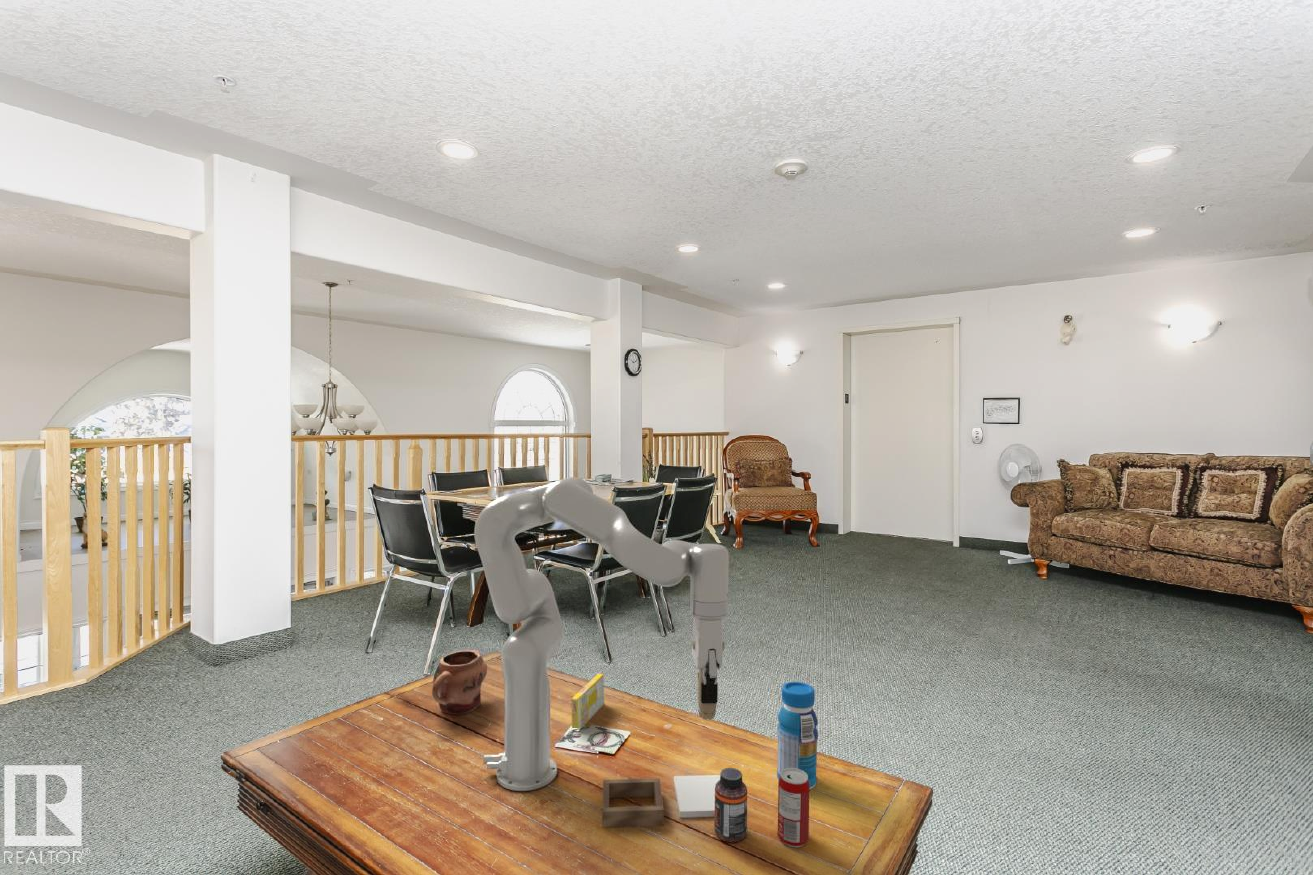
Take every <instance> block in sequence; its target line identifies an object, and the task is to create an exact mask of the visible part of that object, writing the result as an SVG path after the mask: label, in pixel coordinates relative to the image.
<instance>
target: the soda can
mask: <svg viewBox="0 0 1313 875" xmlns="http://www.w3.org/2000/svg"><path fill="white" fill-rule="evenodd" d="M777 789H778V790H777V791H778V792H777V794H778V795H777V796H778V797H777V838H779V840H780V841H781V843H783V844H784V845H786V846H788V847H791V848H801V847H803V846H804V845H806V844H807V843H808V842H809V839H810V838H809V835H810V834H809V833H810V832H809V831H810V790H811V789H810V784H809V780H808V775H807V774H806V773H805V772H804V771H802V770H800V769H797V768H786V769H783V770H782V771H781V774H780V777H779V781H778V788H777Z"/></svg>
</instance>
